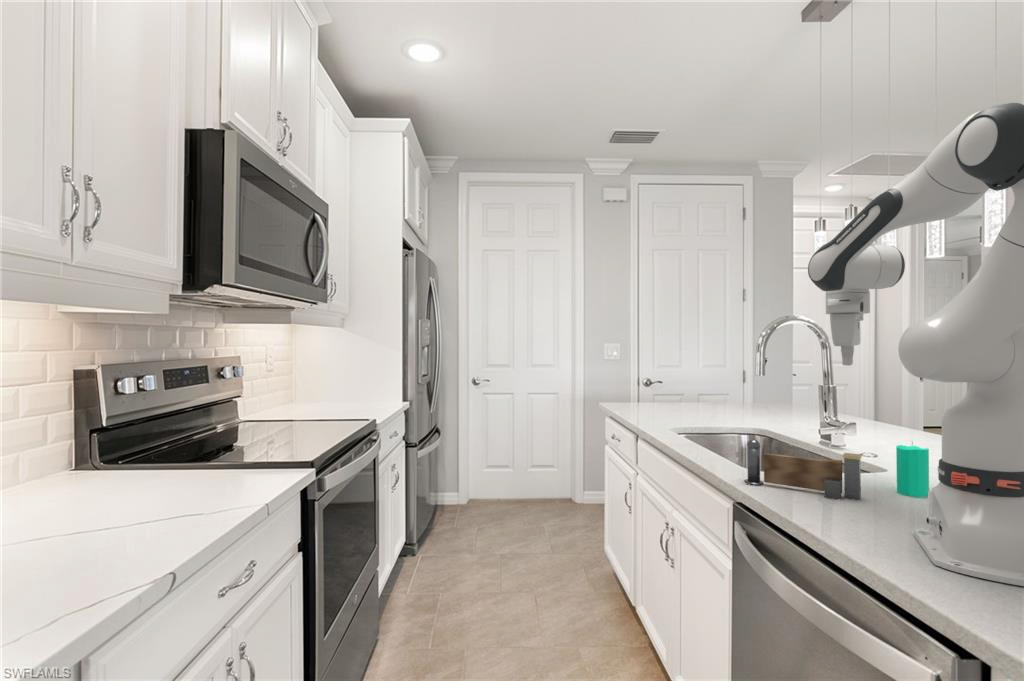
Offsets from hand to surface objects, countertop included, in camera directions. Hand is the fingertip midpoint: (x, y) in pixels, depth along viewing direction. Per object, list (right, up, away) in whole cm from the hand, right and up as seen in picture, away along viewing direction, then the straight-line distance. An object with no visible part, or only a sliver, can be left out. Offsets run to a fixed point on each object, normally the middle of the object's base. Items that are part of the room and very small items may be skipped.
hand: (847, 365), depth 125 cm
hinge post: (-20, -29, +5) cm, 36 cm away
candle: (+12, -29, -4) cm, 32 cm away
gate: (-11, -28, -1) cm, 31 cm away
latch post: (-5, -29, -7) cm, 30 cm away
